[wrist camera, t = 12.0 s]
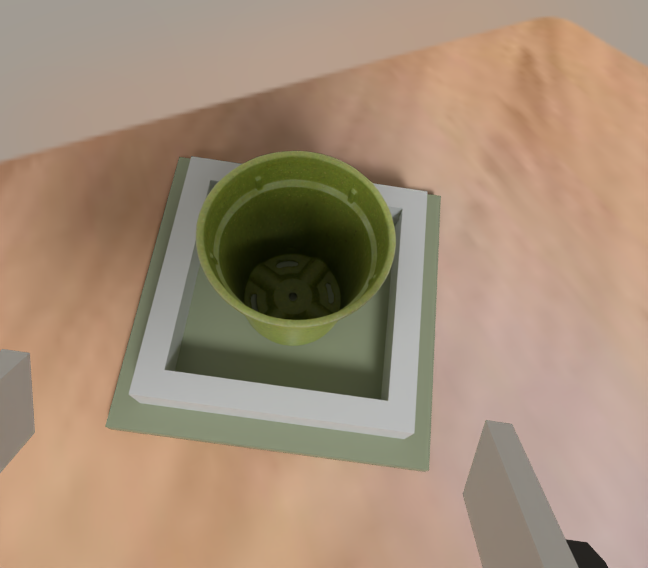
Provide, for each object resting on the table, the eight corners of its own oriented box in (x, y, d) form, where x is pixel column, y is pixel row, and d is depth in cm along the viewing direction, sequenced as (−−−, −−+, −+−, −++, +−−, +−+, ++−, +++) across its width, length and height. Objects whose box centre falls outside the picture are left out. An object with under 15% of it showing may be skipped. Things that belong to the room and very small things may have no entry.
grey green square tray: (436, 203, 38) (451, 175, 35) (424, 471, 31) (441, 467, 28) (181, 165, 38) (173, 133, 34) (110, 429, 31) (91, 419, 27)
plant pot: (205, 243, 34) (184, 162, 26) (348, 221, 36) (369, 138, 28) (227, 386, 31) (210, 344, 23) (384, 356, 33) (419, 306, 25)
